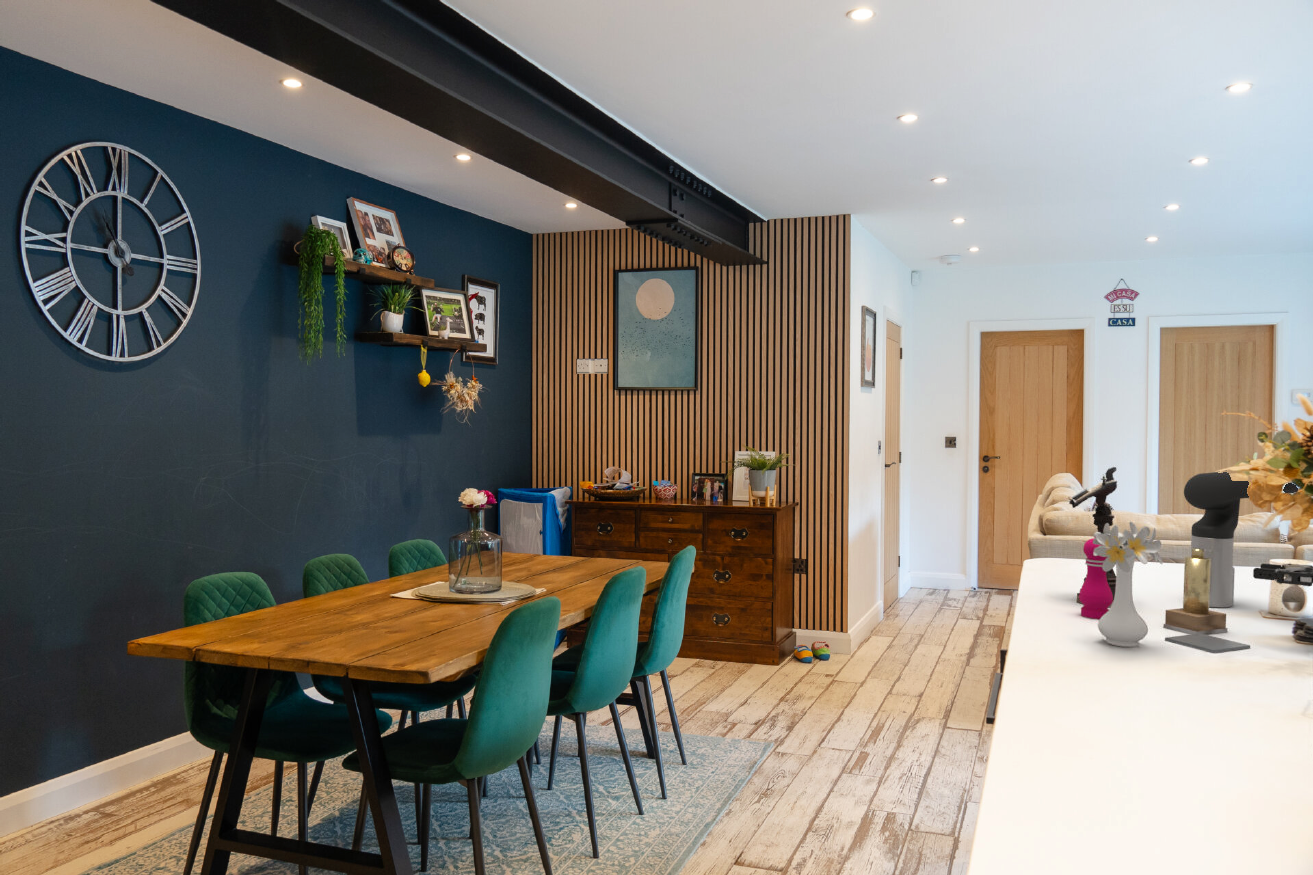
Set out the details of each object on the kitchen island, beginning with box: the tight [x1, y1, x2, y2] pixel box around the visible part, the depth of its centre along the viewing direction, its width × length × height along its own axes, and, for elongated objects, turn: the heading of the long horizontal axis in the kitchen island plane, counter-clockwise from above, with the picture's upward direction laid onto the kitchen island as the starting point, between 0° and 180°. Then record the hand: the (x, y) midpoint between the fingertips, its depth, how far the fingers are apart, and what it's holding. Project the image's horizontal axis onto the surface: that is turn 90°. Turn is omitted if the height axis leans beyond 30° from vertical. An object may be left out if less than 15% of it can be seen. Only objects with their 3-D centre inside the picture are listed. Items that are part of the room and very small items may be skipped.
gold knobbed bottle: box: [1182, 548, 1211, 614], centre depth 209 cm, size 5×5×14 cm
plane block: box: [1162, 607, 1228, 635], centre depth 209 cm, size 10×8×4 cm
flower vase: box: [1093, 521, 1163, 648], centre depth 194 cm, size 13×18×25 cm
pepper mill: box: [1079, 531, 1113, 620], centre depth 221 cm, size 7×7×20 cm
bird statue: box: [1067, 466, 1118, 609], centre depth 237 cm, size 17×13×35 cm
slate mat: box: [1164, 633, 1251, 654], centre depth 196 cm, size 11×11×1 cm
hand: (1257, 570), depth 201 cm, fingers open, 8 cm apart
